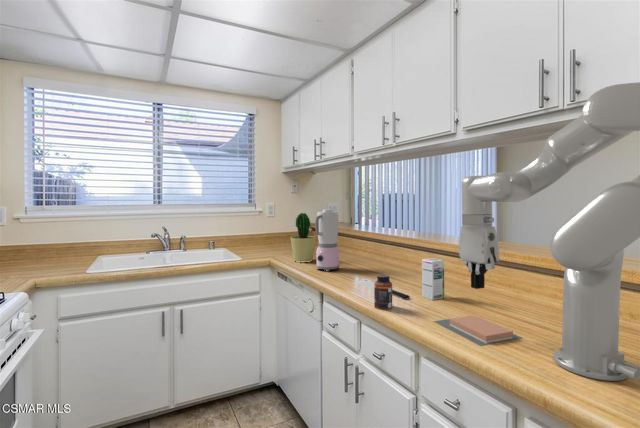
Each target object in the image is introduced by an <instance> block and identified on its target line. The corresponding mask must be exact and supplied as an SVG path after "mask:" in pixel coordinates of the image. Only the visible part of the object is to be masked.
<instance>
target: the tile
mask: <svg viewBox="0 0 640 428" xmlns="http://www.w3.org/2000/svg"><path fill="white" fill-rule="evenodd" d="M449 319H450V325H451V326H453V327H455V328H457V329H459V330H461V331H463V332H465V333H467V334H469V335H471V336H473V337H475V338H477V339H479V340H481V341H483V342H485V343H489V342H495V341H500V340H506V339H511V338H513V334H514V330H511V329H510V328H506V327H504V326H502V325H499V324H497V323H495V322H492V321H489V320H487V319H484V318H482V317H480V316H478V315H474V314H472V315H468V316H467V315H466V316H460V317H454V318H453V319H452V318H449Z"/></svg>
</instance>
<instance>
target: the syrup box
mask: <svg viewBox="0 0 640 428" xmlns="http://www.w3.org/2000/svg"><path fill="white" fill-rule="evenodd" d="M421 277H422V278H421V284H422V285H421V288H422V289H421V292H422V293H421V295H422V297H423V298H424V299H428V300H430V301H437V300H442V299H445V260H444V259H442V258H441V259H440V258H434V257H433V258H423V259H421Z"/></svg>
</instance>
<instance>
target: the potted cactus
mask: <svg viewBox="0 0 640 428" xmlns="http://www.w3.org/2000/svg"><path fill="white" fill-rule="evenodd" d="M311 223H312V221H311V219H310V217H309V215H308V214H306V212H304V213H303V212H300V213H298V215H297V216H296V217H295V222H294V224H295V226H294V227H295V228H296V229H297V231H296V232H297V233H298V234H297V235H294V236H290V242H291V243H290V244H291V249H292V257H293V261H294V260H295V261H311V260H313V261H314V255H315V254H314V252H315V244H316V238H317V237H316V236H314V235H313V236H312V235H309V234H310V229H311V228H310V227H311V225H312V224H311Z"/></svg>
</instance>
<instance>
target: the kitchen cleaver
mask: <svg viewBox="0 0 640 428" xmlns="http://www.w3.org/2000/svg"><path fill="white" fill-rule="evenodd" d="M353 282H354V283H356V284H359V285H361V286H365V287H367V288H369V289H372V290H374V284H375V282H373V281H372V280H370V279H368V278H366V279H361V280H358V281H353ZM392 296H393V297H397V298H399V299H401V300H404V301H406V300H410V298H411V297H410V296H411V295H408V294H405V293H402V292H399V291H397V290H395V289H392Z"/></svg>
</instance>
